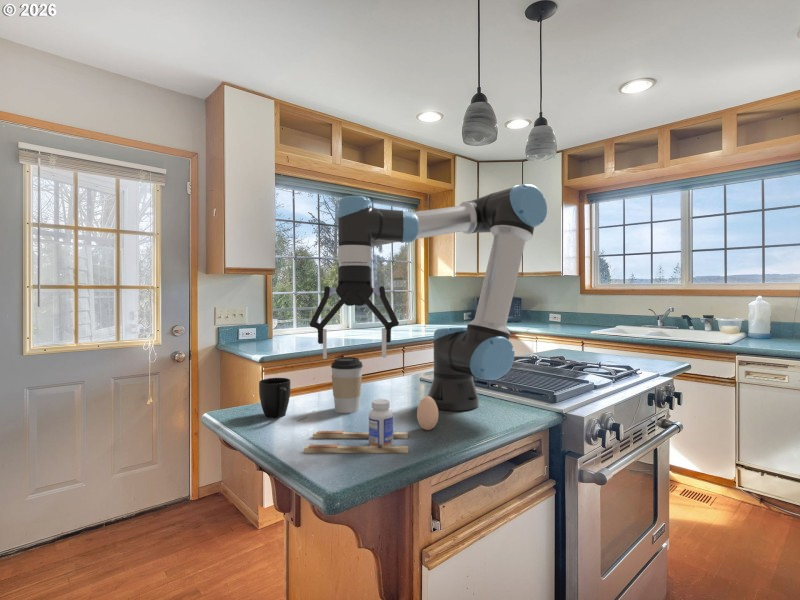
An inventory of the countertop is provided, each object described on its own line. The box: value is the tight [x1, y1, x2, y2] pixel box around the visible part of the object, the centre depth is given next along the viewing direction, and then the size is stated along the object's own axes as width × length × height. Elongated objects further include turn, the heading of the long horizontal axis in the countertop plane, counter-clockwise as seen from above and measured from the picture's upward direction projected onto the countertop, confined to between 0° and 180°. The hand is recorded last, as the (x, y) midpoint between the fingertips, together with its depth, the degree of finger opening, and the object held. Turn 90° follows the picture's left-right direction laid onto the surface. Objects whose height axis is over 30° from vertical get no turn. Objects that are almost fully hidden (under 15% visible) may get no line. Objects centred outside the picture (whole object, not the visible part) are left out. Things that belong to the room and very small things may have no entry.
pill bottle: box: [368, 398, 394, 446], centre depth 95 cm, size 5×5×10 cm
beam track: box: [303, 430, 409, 454], centre depth 95 cm, size 22×10×1 cm, turn 90°
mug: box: [258, 377, 291, 419], centre depth 115 cm, size 8×12×10 cm
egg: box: [416, 395, 439, 431], centre depth 105 cm, size 5×5×8 cm
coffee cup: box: [330, 356, 364, 414], centre depth 122 cm, size 9×9×15 cm
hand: (354, 357), depth 99 cm, fingers open, 13 cm apart
